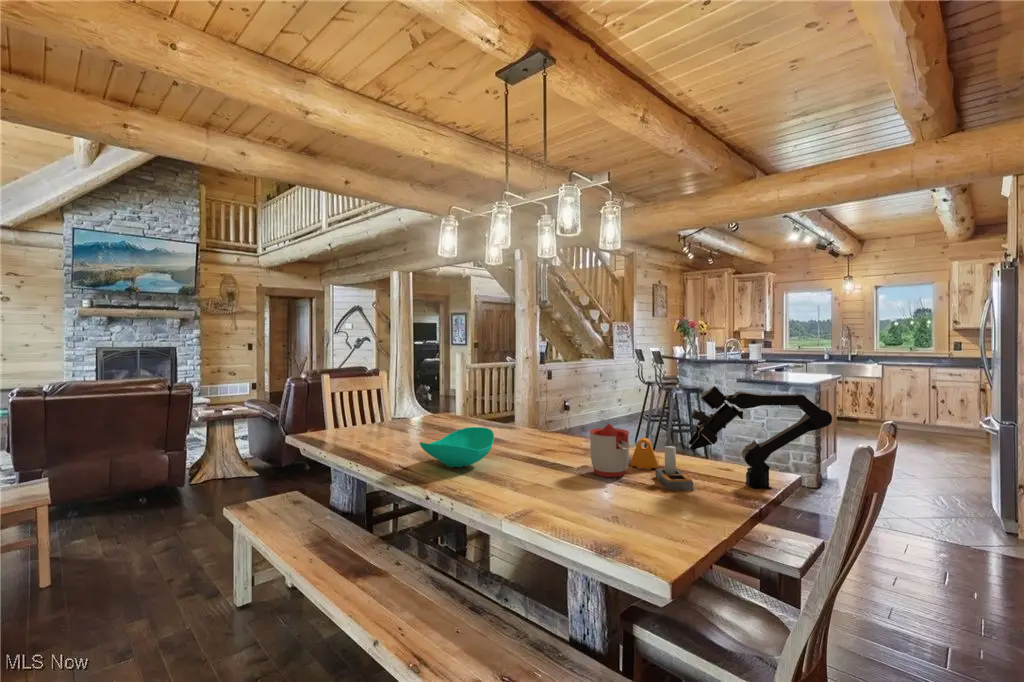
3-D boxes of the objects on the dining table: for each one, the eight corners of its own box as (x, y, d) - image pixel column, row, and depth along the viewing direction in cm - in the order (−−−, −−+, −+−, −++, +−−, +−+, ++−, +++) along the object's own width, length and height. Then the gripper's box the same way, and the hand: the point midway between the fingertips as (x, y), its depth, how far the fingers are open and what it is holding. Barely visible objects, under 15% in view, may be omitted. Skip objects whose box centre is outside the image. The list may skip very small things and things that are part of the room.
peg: (674, 478, 180) (673, 446, 180) (677, 481, 176) (677, 448, 176) (663, 478, 180) (663, 446, 180) (666, 481, 176) (666, 448, 176)
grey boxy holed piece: (678, 476, 183) (678, 468, 183) (693, 490, 166) (693, 481, 166) (655, 476, 183) (655, 468, 183) (667, 490, 166) (667, 481, 166)
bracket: (659, 465, 199) (658, 437, 199) (657, 470, 193) (657, 440, 193) (633, 463, 203) (632, 435, 203) (630, 467, 197) (630, 439, 197)
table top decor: (460, 482, 179) (460, 447, 179) (402, 474, 191) (402, 441, 191) (508, 458, 214) (508, 429, 214) (457, 452, 227) (456, 425, 227)
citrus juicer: (611, 483, 175) (610, 429, 175) (581, 472, 190) (581, 422, 190) (641, 476, 183) (641, 425, 183) (611, 466, 198) (610, 419, 198)
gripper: (702, 399, 183) (673, 426, 187) (707, 405, 166) (674, 435, 169) (724, 420, 181) (694, 447, 184) (731, 428, 163) (697, 458, 167)
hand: (689, 446), depth 176 cm, fingers open, 9 cm apart
